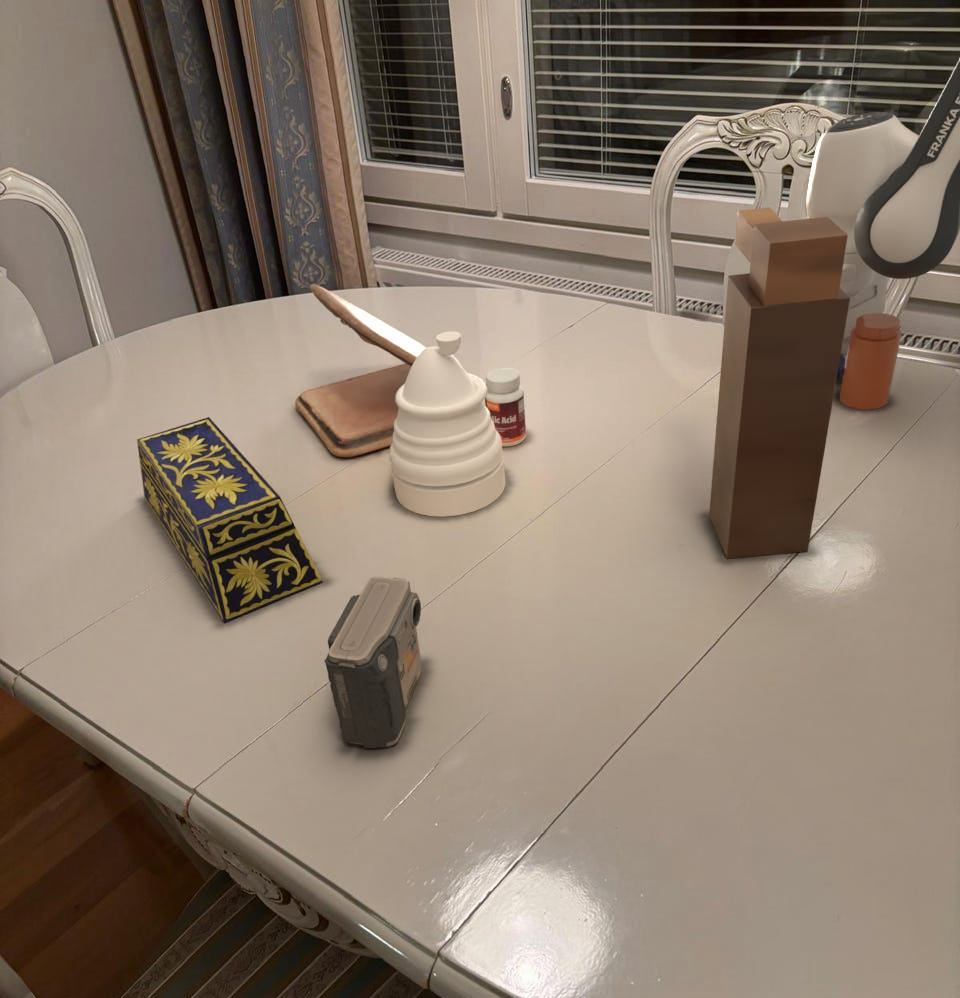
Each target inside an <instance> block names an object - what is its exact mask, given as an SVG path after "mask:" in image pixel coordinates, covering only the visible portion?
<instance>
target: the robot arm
mask: <svg viewBox="0 0 960 998" xmlns="http://www.w3.org/2000/svg"><path fill="white" fill-rule="evenodd" d="M805 207H806V214H807V217H806V219H810V218H820V217H828V218H829V219H831V220H832V221H833V222H834V223H835V224H836V225H837V226H838V227H840V228H841V229H842V230H843V231H844V232H845V233H846V234H847V235H848V237H847V244H846V250H845V256H844V263H843V269H842V275H841V282H840V288H841V289H842V290H843V291H844V292H845V293H846V294H847V296H848V297H849V298H850V301H849V307H848V313H847V319H846V325H845V331H844V337H843V343H842V349H841V356H843V357H844V358H845V363H846V357H847V351H848V345H849V339H850V333H851V330H852V329H853V328H854V327H855V325H856V320H857V318H858V317H859V316H862V315H865V314H870V313H884V312H885V309H886V301H887V294H888V282H889V278H890V279H895V280H909V279H914V278H917V277H920V276H923V275H925V274H927V273H929V272H931V271H933V270H934V269H936V268H937V267H938V266H939V265H940V264H941V263H943V261H944V260H946V257H948V255H949V253H950V252H951V251H952V248H953V246H954V245H955V243H956V240H957V238H958V236H959V235H960V58H959V59H958V61H957V63H956V65H955V66H954V69H953V70H952V73H951V75H950V77H949V78H948V80H947V82H946V84H945V85H944V87H943V90H942V92H941V94H940V95H939V97H938V99H937V101H936V103H935V105H934V107H933V109H932V111H931V112H930V113H929V117H928V118H927V120H926V122H925V124H924V126H923V128H922V129H921V132H920V134H917V133H915V132H914V131H912V130H911V129H909V128H907V127H906V126H905V125H904V124H903V123H902V122H901V121H900V120H899V119H898V118H897V116H896V115H895V114H893V113H890V112H887V111H871V112H865V113H864V112H863V113H859V114H856V115H855V114H854V115H850V116H849V117H846V118H842V119H840V120H839V121H837V122H835V123H834V124H832V125H831V126H830V127H829V128H827V129H826V130H825V132H823V133H822V134H821V136H820V137H819V140H818V142H817V144H816V149H815V152H814V156H813V159H812V163H811V170H810V174H809V178H808V186H807V193H806V200H805Z"/></svg>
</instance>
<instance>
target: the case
mask: <svg viewBox="0 0 960 998" xmlns="http://www.w3.org/2000/svg"><path fill="white" fill-rule="evenodd" d="M309 289H310V291H311V292H312V294H313V296H314V297H315V298H316V300H318V302H319V303H320V304H322V305H323V307H325V309H326V310H328V311H329V312H330V314H332V315H333V316H334V317H336V318H338V319H339V320H340V321H339V322H340V324H342V325H344V326H347V327H348V328H349V329H351V330H353V332H355V333H356V334H357V336H358V337H359V338H360V339H361V340H362V341H363V342H364V343H367V344H370V345H372V346H375V347H378V348H379V349H381V350H383V351H385V352H387V353H388V354H389V355H392V356H393V357H394V358H395V359H397V360H400V361H401V362H402V363H401V364H397V365H395V366H392V367H388V368H383V369H380V370H375V371H372V372H369V373H366V374H361V375H357V376H353V377H350V378H346V379H343V380H339V381H335V382H331V383H328V384H325V385H320V386H317V387H314V388H310V389H306V390H304V391H303V392H301V394H300V395H298V396H297V397H296V399H295V402H294V403H295V407H296V409H297V410H298V411H299V413H300V414H301V415H302V416H303V417H304V419H305V420H306V421H307V422H308V424H309V425H310V426H311V427H312V429H313V430H314V432H315V433H316V434H317V435H318V437H319V438H320V439H321V441H322V442H323V444H324V445H325V447H326V448H327V450H328V451H329V452H330V453H331V454H332V455H334V456H335V457H339V458H351V457H357V456H360V455H364V454H367V453H370V452H371V453H372V452H373V451H377V450H381V449H384V448H387V447H390V446H391V444H392V443H393V432H394V421H395V419H396V418H397V415H398V410H399V407H398V406H397V404H396V402H395V398H396V393H397V391H398V390H399V388H400V387H401V386H403V385H404V384H405V382H406V379H407V376H408V374H409V371H410V369H411V367H412V365H413V363H414V361H415V360H416V358H417V357H418V355H419V354H420V353H421V352H422V351H423V350H425V349H426V348H427V347H426V346H425V345H423V344H422V343H420V342H419V341H417V340H415V339H413V338H412V337H410V336H408V335H406V334H404V333H403V332H401V331H399V330H398V329H396V328H394V327H393V326H391V325H390V324H387V323H385V322H384V321H382V320H380V319H379V318H377V317H375V316H373V315H372V314H370V313H368V312H367V311H365V310H363V309H361V308H360V307H358V306H356V305H354V304H353V303H351V302H350V301H348V300H346V299H344V298H342V297H341V296H339V295H337V294H336V293H333V292H331V290H328V289H326V288H324V287H323V286H321V285H319V284H316V283H312V284H310V286H309Z"/></svg>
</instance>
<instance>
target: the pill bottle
mask: <svg viewBox="0 0 960 998" xmlns="http://www.w3.org/2000/svg"><path fill="white" fill-rule="evenodd" d="M485 384H486V387H487V394H486V396H485V398H484V405H485V406H486V407H487V409H488V410H489V411H490V417H491V419H492V421H493V422H494V425H495V429H496V430H497V432H498V433H499V434H500V437H501V440H502V447H513V446H516V445H519V444H521V443H522V442H523V441H525V439H526V437H527V426H526V411H525V409H526V408H525V391H524V389H523V387H522V386H521V377H520V372H519V371H518V370H517V369H516V368H511V367H499V368H494V369H491V370H490V371H488V372H487V373H486V375H485Z"/></svg>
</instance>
